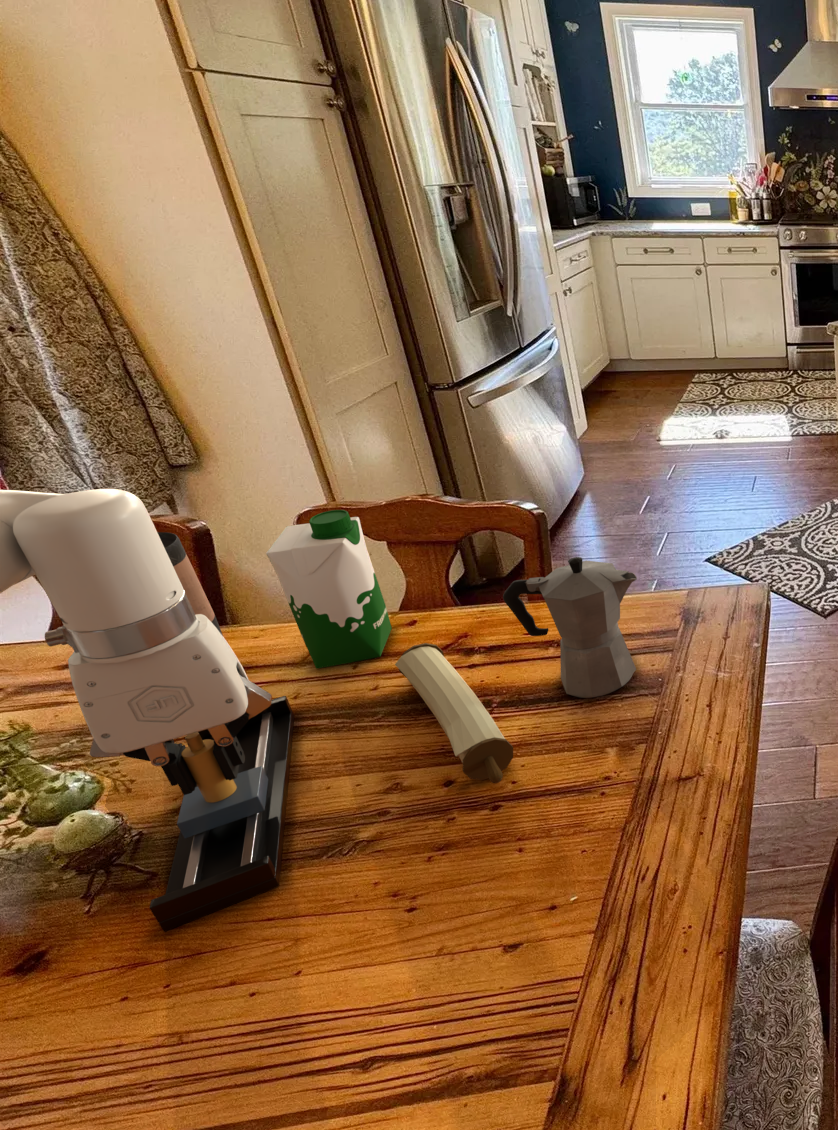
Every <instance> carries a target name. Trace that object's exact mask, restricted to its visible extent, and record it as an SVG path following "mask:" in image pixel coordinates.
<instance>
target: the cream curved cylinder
mask: <svg viewBox="0 0 838 1130" xmlns="http://www.w3.org/2000/svg"><path fill="white" fill-rule="evenodd" d="M394 666H395V667H396V668H397V669H398V671H399V673H400V674H401V675H402V676H404V677H405V678H406V680H408V682H409V683H410V685H412V687H413V688H414V690H415V691H416V692H417V693H418V695H419V696H420V698H421V699H422V700H423V702H424V703H425V704H426V706H427V707H428V709H429V710H430V711H431V713H432V714H433V716H434V717H435V719H436V720H437V722H438V724H439V725H440V727H441V729H442V730H443V731H444V733H445V735H446V737H447V738H448V740H449V743H450V745H451V748H452V751H453V753H454V756H455V757H458V758H459V759H460V761H461V763H462V772H463V774H465V776H466V777H467V778H469V780H476V781H484V780H487V779H488V780H489V782H490V783H492V784H498V783H500V782H501V781H502V780H503V776H504V774H503V771H504V770H506V769H507V768H508V766H509V765H510V764H511V762H512V760H513V758H514V746H513V744H511V743H510V741H509V740H508V739H506V738H505V736H504V734H503V733H502V731H501V730H500V728H499V726H498V724H497V723H496V722H495V720H494V718H493V717H492V715H491V714H490V713H489V711H488V709H486V707H485V706H484V705H483V703H482V701H481V700H480V698H479V697H478V696H477V695H476V693H475V692H474V690H473V689H471V687H470V686H469V685H468V683H467V682H466V681H465V679H464V678H463V677H462V676H461V675H460V674H459V672H458V671H457V670H456V669H455V667H454V666H453V665H452V664H451V663H450V662H449V661H448V660H447V658H446V657H445V654H444V651H443V650H442V649H441V648H440V647H439V645H437V644H435V643H434V644H433V643H429V642H423V643H420V644H419V643H418V644H415V645H412V646H411V647H409V648H408V649H406V650H405V651H404V652H402V654H401V656H400V657H399V658H398V659H397V661H396V662H395V663H394Z"/></svg>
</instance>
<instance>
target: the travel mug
mask: <svg viewBox="0 0 838 1130" xmlns="http://www.w3.org/2000/svg"><path fill="white" fill-rule="evenodd" d="M157 533H158V535H159V537H160V539H161V541H162V544H163V546H164V548H165V550H166V552H167V554H168V557H169V559H170V561H171V563H172V565H173V567H174V569H175V572H176V574H177V576H178V578H179V580H180V582H181V584H182V587H183V589H184V591H185V593H186V595H187V597H188V599H189V601H190V604H191V606H192V608H193V610H194V612H195V615H197V614H203V615H205V616H206V617H207V618H208V619H209V620H210V621H211V622H212V623H213V625H214V626H215V627H216V628H217V629H218V631H219V632H220V633H221V634H222V636H223V637H224V634H223V632H222V629H221V627H220V624H219V622H218V619H217V617H216V615H215V612H214V610H213V608H212V606H211V603H210V601H209V600H208V598H207V595H206V593H205V591H204V589H203V586H202V584H201V582H200V580H199V578H198V576H197V573H196V571H195V569H194V567H193V565H192V563H191V561H190V558H189V557H188V554H187V552H186V550H185V548H184V546H183V544H182V541H181V540H180V538H179V537H178V535H177V534H175V533H173V532H169V531H168V532H167V531H157Z"/></svg>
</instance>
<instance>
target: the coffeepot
mask: <svg viewBox="0 0 838 1130" xmlns="http://www.w3.org/2000/svg"><path fill="white" fill-rule="evenodd" d="M567 563H568V565H564V566H560V567H557V568H555V569H554V570H552V571H551V572H550V573H548V574H547V575H546V576H545V577H544V576H540V577H529V578H528V579H517V580H513V581H512V582H511V583H510V584H509V586H508V587H507V588H506V590H504V592H503V595H502V599H503V602H504V603H505V605H506V606H507V607H508V608H509V609H510V611H511V612H512V614H513V615H514V616H515V618H516V619H517V620H518V621H519V623H520V624H521V625H522V627H523V628H524V629H525V631H526V633H527V634H528V635H529V636H530V637H543V636H547V635H548V634H549V633H548V632H549V628H548V627H545V628H543V627H542V628H541V627H538V626H537V625H536V622H535V619H534V616H533V615H532V614H531V613H530V612H528V610H527V607H526V605H525V603H524V601H523V600H522V599H521V597H520V595H542V598H543V599H544V602H545V604H546V606H547V609H548V612H549V613H550V615H551V618H552V621H553V622H554V623H553V624H554V625H555V627H556V630H557V632H558V634H559V636H560V638H561V639H560V640H559V641H560V643H559V645H560V680H561V684H562V686H563V689H564V691H565V693H566V695H569V696H572V697H576V698H583V699H589V698H590V699H591V698H598V697H602V696H605V695H609V694H610V693H613V692H615V691H617V690H619V689H621V688H622V687H624V686H625V685H626V684H627V683H628V682H629V681H630V680H631V679H632V677H633V675H634V673H635V672H636V671H637V667H636V665H635V663H634V659H633V657H632V655H631V653H630V651H629V648H628V646H627V643H626V641H625V639H624V635H623V634H622V633H623V632H622V631H621V629H620V627H619V621H620V620H621V603H622V601H623V599H624V597H625V595H626V593H627V591H628V589H629V588H630V586H631V585H632V583H634V582H635V581H637V580H638V577H637V575H636V574H635V573H634V572H630V571H628V570H622V569H621V570H620V569H616V567H615V565H614V564H613V562H604V561H595V560H583V557H581V556H575V557H571V558H570V559H568V560H567Z"/></svg>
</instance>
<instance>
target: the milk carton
mask: <svg viewBox="0 0 838 1130" xmlns="http://www.w3.org/2000/svg"><path fill="white" fill-rule="evenodd" d="M265 555H266V556H267V558H268V560H269V562H270V564H271V566H272V568H273V570H274V572H275V573H276V575H277V578H278V580H279V583H280V586H281V588H282V590H283V594H284V596H285V598H286V601H287V603H288V605H289V608H290V610H291V613H292V616H293V618H294V621H295V623H296V625H297V628H298V630H299V633H300V636H301V638H302V640H303V642H304V645H305V646H306V649H307V651H308V654H309V655H310V658H311V660H312V663H313V665H314V667H315V669H317V670H318V669H323V668H328V667H334V666H339V665H346V664H350V663H355V662H360V661H366V660H371V659H377V658H381V656H382V654H383V651H384V648H385V647H386V645H387V641H388V639H389V637H390V634H391V631H392V629H393V628H392V624H391V621H390V616H389V612H388V608H387V605H386V602H385V599H384V596H383V593H382V591H381V587H380V584H379V581H378V579H377V575H376V571H375V568H374V566H373V562H372V561H371V560H372V559H371V557H370V553H369V551H368V548H367V544H366V541H365V537H364V533H363V529H362V524H361V520H360V517H359V516H352V517H350V514H349V511H347V510H345V509H332V510H326V511H323V512H320V513H317V514H315V515H313V516H312V517H310V518H309V520H308V523H301V524H294V525H287V526H285V528H284V529H283V530H282V532H281V533H280V534H279V535H278V537H276V539H275V541H274V542H273V543H272V544H271V545H270V547H269V548H268V550H267V551H266V552H265Z"/></svg>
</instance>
